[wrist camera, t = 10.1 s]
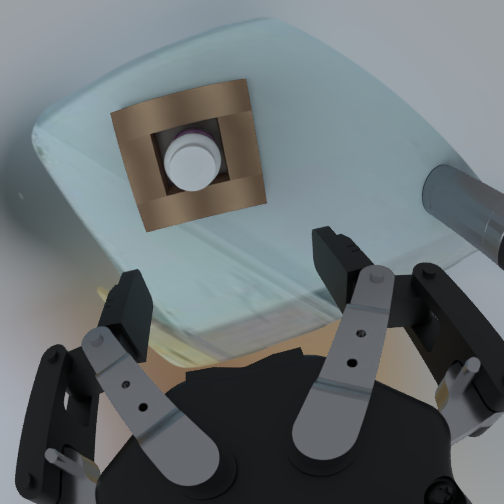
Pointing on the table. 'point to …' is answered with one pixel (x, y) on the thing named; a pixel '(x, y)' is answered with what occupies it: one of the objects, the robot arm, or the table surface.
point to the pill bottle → (192, 159)
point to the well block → (161, 135)
